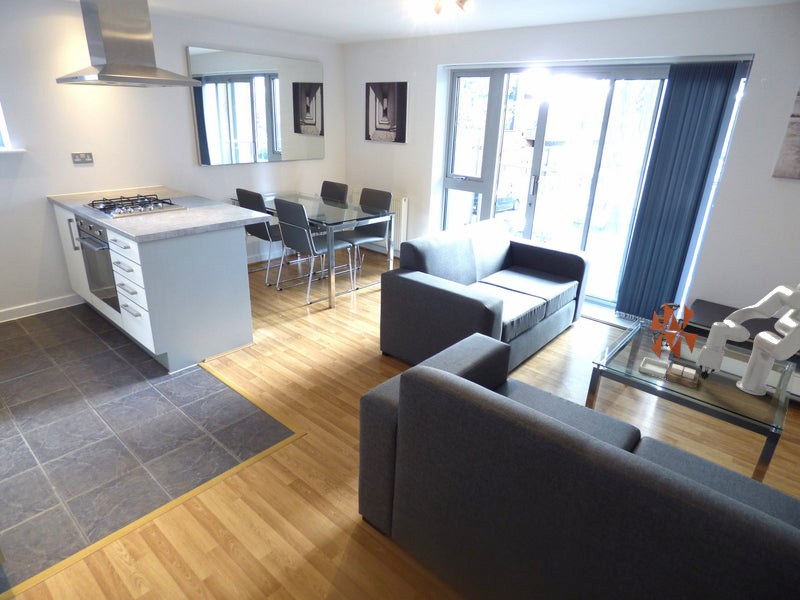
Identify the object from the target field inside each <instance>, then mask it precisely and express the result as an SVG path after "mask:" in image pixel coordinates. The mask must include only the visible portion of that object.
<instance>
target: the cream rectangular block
mask: <svg viewBox="0 0 800 600" xmlns="http://www.w3.org/2000/svg"><path fill="white" fill-rule="evenodd" d="M683 369H684V371H683V375H682V376H685V377H688V378H691V379H693V378H694V375H695V373H697V372H696V371H697V370H695V369H693V368H690V367H686V366H684V368H683Z"/></svg>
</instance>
